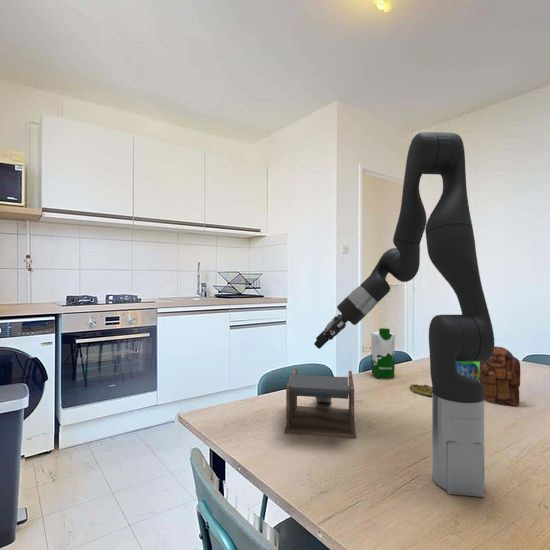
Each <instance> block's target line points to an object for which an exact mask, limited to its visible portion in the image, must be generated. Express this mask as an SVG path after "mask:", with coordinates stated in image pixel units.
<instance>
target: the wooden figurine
mask: <svg viewBox="0 0 550 550" xmlns="http://www.w3.org/2000/svg"><path fill="white" fill-rule="evenodd" d="M480 371H481V372H480V381H479V382H480V383H481V384H482V385H483V387H484V402H487V403H491V404H497V405H503V406H512V407H518V406H519V405H520V387H521V363H520V360H519V359H518V358H517V357H515V356H514V355H513V353H512V352H511V351H510V350H508V349H507V348H505V347H502V346H497V345H494V351H493V354H492V356H491V358H490V359H488V360H487V361H480Z"/></svg>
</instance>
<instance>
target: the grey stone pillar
mask: <svg viewBox="0 0 550 550" xmlns="http://www.w3.org/2000/svg"><path fill="white" fill-rule="evenodd" d="M315 399H316V402H317V403H326V402H327V403H330V404H331V403H332V398H325V397H315Z"/></svg>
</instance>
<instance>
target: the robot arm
mask: <svg viewBox="0 0 550 550" xmlns="http://www.w3.org/2000/svg"><path fill="white" fill-rule="evenodd" d="M423 175H440V177H441V179H442V192H441V195H440V198H439V199H438V201H437V203H436V205H435V206H434V208H433V210H432V211H431V213H430V215H429V216H428V219H427V212H426V209H425V207H424V202H423V201H422V198H421V197H422V196H421V193H420V183H421V178H422V176H423ZM401 195H402V196H401V204H400V209H399V210H400V211H399V215H398V219H397V223H396V227H395V230H394V233H393V237H392V238H393V239H392V243H393V245H394V247H392V248H390V249H387V250H386V251H385V252H383V254H382V255H381V257H380V259H379V260H378V261H377V263H376V265H375V266H374V268H373V270H372V272H371V273H370V275H369V276H368V277H367V278H366V279H365V280H364V281H363V282H362V283H361V284H360V285H359V286H357V287H356V288H355V289H353V290H352V291H351V292H350V293H348V295H347V296H346V297H345V298H344V299H343V300H342V301H341V302H340V303H339V304H338V305H337V306H336V309H337V310H338V311H339V314H338V315H337V314H336V315H335V316H333V318H332V319H331V320H330V321H329V322H328V323H327V325H326V326H325V328H324V330H322V331H321V333H319V334H318V335H317V336H316V338H315V342H314V346H315V347H316V348H317V349H322V347H324V345H325V344H327V342H329V341H331V340H333V339H334V338H335V337H336V336H337V335H339V334H340V332H342V331H343V330H344V329H345V328H346V326H347V323H348V322H350V324H352V325H353V326H356V325H358V324H359V323H360V322H361V321H362V320H363V319H364V318H365V317H366V316H367V315H368V314H369V313H370V312H371V311H372V310H373V309H374V308H375V307H376V305H377V304H378V303H379V302H380V301H381V300H382V299H383V298H384V297H385V296H386V295H388V294H389V292H391V285H390V284H389V282H388V281H387V276H388V274H390V275H392V277H394V278H395V279H396V280H397V281H399V282H402V283H407V282H411V281H412V280H413V279H414V278H415V277H416V275H417V274H418V272H419V269H420V263H421V262H420V258H421V246H420V245H421V242H422V238H423V235H424V233H425V239H426V249H427V254H428V257H429V260H430V261H431V263H432V264H433V266H434V268H435V269H436V270H437V271H438V273H440V275H441V276H442V277H443V279H444V280H445V281H446V282H447V283H448V285H449V286H450V287H451V288H452V290H453V291H454V292H453V293H454V294H455V295H456V298H457V301H458V303H459V307H460V312H461V314H436V315H435V316H433V317H432V319H431V320H430V323H429V326H428V327H429V328H428V349H429V365H430V367H429V370H430V379H431V387H432V398H431V400H432V401H431V402H432V403H431V404H432V406H431V412H432V413H431V418H432V419H431V420H432V421H431V423H432V424H431V426H432V427H431V431H432V432H431V434H432V435H431V436H432V438H431V439H432V442H431V444H432V446H431V447H432V448H431V449H432V450H431V451H432V453H431V456H432V457H431V458H432V480H433V481H434V483H435V484H436V485H438V487H440V488H441V489H444V490H445V491H446V493H447V494H449V495H456V496H466V497H467V496H470V497H479V498H483V497H484V495H485V494H484V491H485V486H486V485H485V484H486V482H485V479H486V477H485V468H486V467H485V400H484V387H483V385H482V384H481V383H480V381H477V380H475V379H472V378H469V377H466V376H463V375H461V374H459V373H458V372H457V369H456V362H471V361H472V362H480V361H487V360H488V359H490V358H491V356H492V354H493V351H494V346H495V334H494V333H495V332H494V328H493V324H492V320H491V316H490V312H489V308H488V304H487V302H486V297H485V294H484V289H483V285H482V281H481V275H480V268H479V263H478V257H477V250H476V240H475V234H474V228H473V223H472V222H473V221H472V219H471V212H470V206H469V198H468V189H467V174H466V153H465V145H464V142H463V138H462V137H461V136H460V135H459V134H458V133H455V132H442V131H441V132H439V131H420V132H417V134H415V135H414V136H413V138H412V139H411V141H410V144H409V147H408V151H407V156H406V163H405V170H404V178H403V186H402V194H401ZM340 313H341V314H340Z"/></svg>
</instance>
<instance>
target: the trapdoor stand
mask: <svg viewBox="0 0 550 550" xmlns="http://www.w3.org/2000/svg"><path fill="white" fill-rule="evenodd" d="M291 375H298V368H297V367H296V368H294V369H293V371H292V373H291ZM290 381H291V376H290V377H289V379H288V381H287V383H286V387H285V388H286V389H285V391H286V393H285V394H286V396H285V397H286V398H285V399H286V402H285V403H286V405H285V409H286V410H285V413H286V414H285V417H286V418H285V420H286V421H285V422H286V423H285V428H284V434H293V435H306V436H317V437H318V436H320V437H329V438H330V437H333V438H344V439H345V438H347V439H357V429H356V423H355V386H354V379H353V372H352V370H348V386H349V395H348V408H338V407H337V408H336V407H334V408H333V407H321V406H320V407H319V406H304V405H298V396H297V395H296V393H295V392H294V390H292V389H291V387H290Z"/></svg>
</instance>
